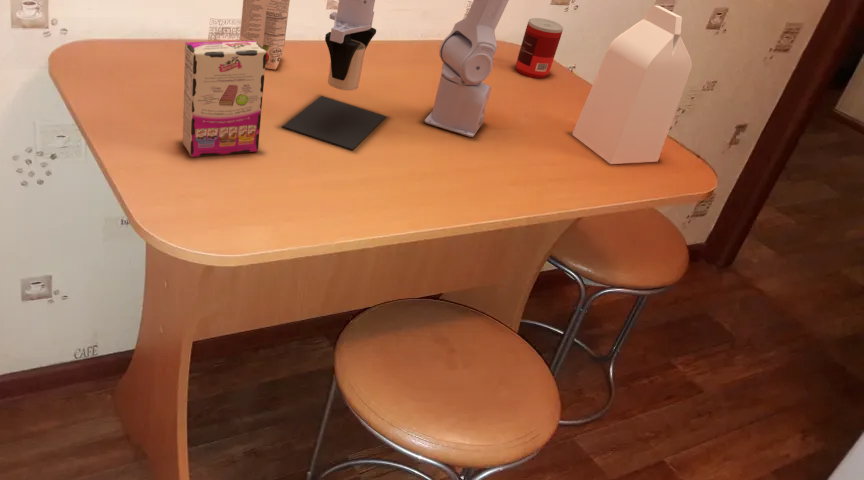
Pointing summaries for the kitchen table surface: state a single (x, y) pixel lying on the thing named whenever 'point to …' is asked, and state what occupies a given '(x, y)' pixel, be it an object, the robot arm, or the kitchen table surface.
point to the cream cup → (350, 72)
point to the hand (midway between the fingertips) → (344, 73)
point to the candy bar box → (222, 97)
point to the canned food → (538, 47)
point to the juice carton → (266, 27)
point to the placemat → (335, 122)
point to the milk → (636, 91)
